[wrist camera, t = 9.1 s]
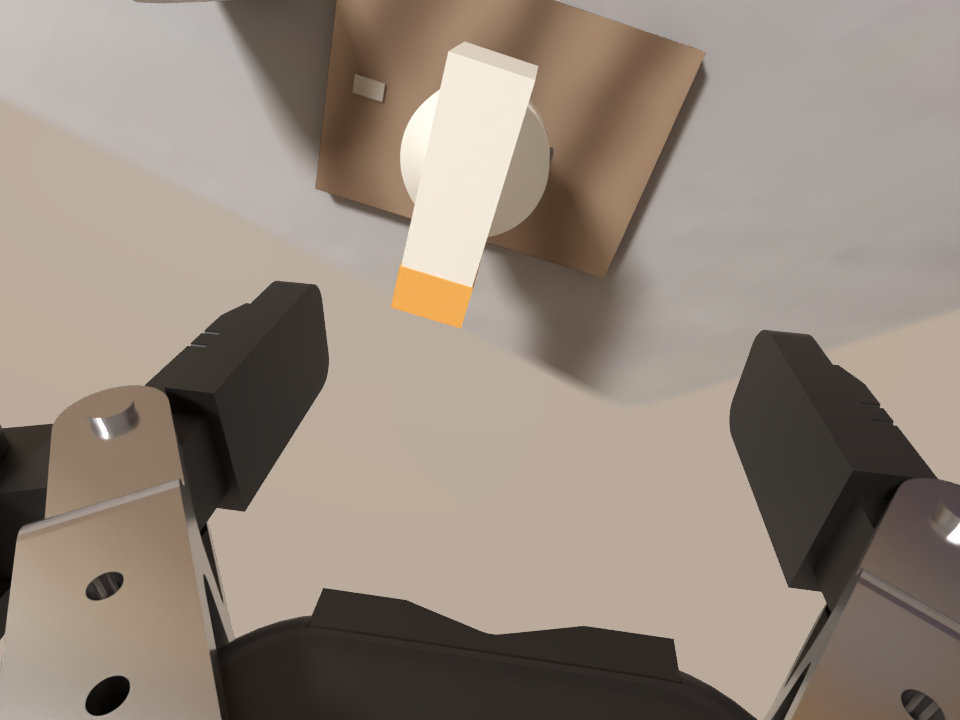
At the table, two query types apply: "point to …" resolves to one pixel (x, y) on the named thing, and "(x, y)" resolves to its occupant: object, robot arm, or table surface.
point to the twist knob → (467, 176)
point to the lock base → (556, 93)
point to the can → (175, 1)
